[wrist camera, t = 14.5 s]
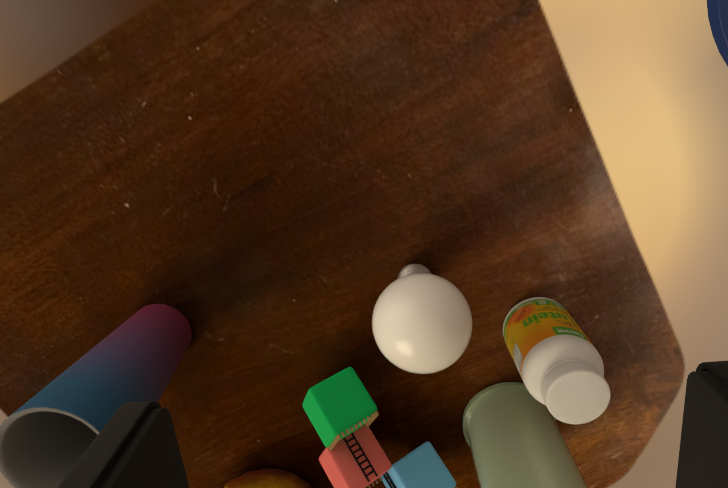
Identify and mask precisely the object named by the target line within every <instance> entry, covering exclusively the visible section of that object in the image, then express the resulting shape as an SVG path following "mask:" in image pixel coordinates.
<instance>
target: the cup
mask: <svg viewBox="0 0 728 488" xmlns="http://www.w3.org/2000/svg"><path fill="white" fill-rule="evenodd" d="M191 339H192V331H191V327H190V324H189V322H188V320H187V319H186V317H185V316H184V315H183V314H182V313H181V312H179V311H178V310H177V309H175V308H173V307H171V306H168V305H164V304H151V305H147V306H145V307H143V308H141V309H140V310H139V311H138V312H136V313H135V314H134V315H133V316H131V317H130V318H129V319H128V320H127V321H125V322H124V323H123V324H122V325H120V326H119V327H118V328H117V329H116V330H114V331H113V332H112V333H111V334H109V335H108V336H107V337H106V338H105V339H103V340H102V341H101V342H100V343H98V344H97V345H96V346H95V347H94V348H92V349H91V350H90V351H89V352H87V353H86V354H85V355H84V356H83V357H81V358H80V359H79V360H78V361H76V362H75V363H74V364H73V365H72V366H70V367H69V368H68V369H67V370H65V371H64V372H63V373H62V374H61V375H59V376H58V377H57V378H56V379H54V380H53V381H52V382H51V383H50V384H48V385H47V386H46V387H45V388H43V389H42V390H41V391H40V392H39V393H37V394H36V395H35V396H34V397H32V398H31V399H30V400H29V401H28V402H26V403H25V404H24V405H23V406H21V407H20V408H19V409H18V410H17V411H15V412H14V413H13V414H12V415H11V416H9V417H8V418H7V419H6V420H4V421H3V423H2V424H1V425H0V471H1V473H2V475H3V476H4V477H5V478H6V480H7V481H8V482H9V483H10V484H11V485H12V486H13V487H14V488H57V487H58V486H59V485H60V483H61V482H62V481H63V479H64V478H65V477H66V476H67V474H68V473H69V472H70V470H71V469H72V468H73V467H74V465H75V464H76V463H77V461H78V460H79V459H80V457H81V456H82V455H83V454H84V452H85V451H86V450H87V448H88V447H89V446H90V444H91V443H92V442H93V441H94V439H95V438H96V437H97V435H98V434H99V433H100V432H101V430H102V429H103V428H104V426H105V425H106V424H107V422H108V421H109V420H110V419H111V417H112V416H113V415H114V413H115V412H116V411H117V410H118V408H119V407H120V406H121V405H122V404H124V403H129V402H143V401H156V402H158V401H159V399H160V398H161V396H162V394H163V392H164V390H165V388H166V387H167V385H168V383H169V381H170V379H171V378H172V376H173V374H174V372H175V370H176V369H177V367H178V365H179V363H180V361H181V359H182V358H183V356H184V354H185V352H186V350H187V349H188V347H189V345H190V343H191Z"/></svg>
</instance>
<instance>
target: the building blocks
mask: <svg viewBox="0 0 728 488" xmlns="http://www.w3.org/2000/svg"><path fill="white" fill-rule="evenodd" d="M302 406H303V408H304V410H305V412H306V414H307V415H308V417H309V419H310V421H311V422H312V424H313V426H314V428H315V430H316V431H317V433H318V435H319V437H320V438H321V440H322V442H323V444H324V445H325V447H326V448H325V450H324V451H323V453H322V454H321V455H320V457H319V461H320V463H321V465H322V467H323V469H324V471H325V472H326V474H327V476H328V478H329V480H330V482H331V483H332V485H333V487H334V488H366V487H367V486H368V488H371V487H370V485H369V484H372V486H375V484H374V483H373V482H374V481H375V482H376V484H377V483H379V482H378V481H377V479H378V478H379V480H380V481H383V483H384V484H385V486H386V488H457V487H456V482H455V480H454V478H453V477H452V475H451V474H450V472H449V471H448V469H447V468H446V466H445V464H444V463H443V461H442V460H441V458H440V457H439V455H438V454H437V452H436V450H435V449H434V447H433V446H432V444H431V443H430V442H425V443H423V444H422V445H420V446H419V447H417V448H416V449H414V450H413V451H412V452H410V453H409V454H407V455H406V456H404V457H403V458H401V459H400V460H398V461H397V462H396V463H394V464H393V465H391V463H390V461H389V459H388V458H387V456H386V454H385V453H384V451H383V449H382V448H381V446H380V444H379V443H378V441H377V439H376V438H375V436H374V434H373V433H372V431H371V430H370V428H369V425H371V423H372V422H373V421H374V420H375V418H377V416H378V415H379V414H378V412H377V406H376V404H375V403H374V401H373V400H372V398H371V396H370V395H369V393H368V392H367V390H366V388H365V387H364V385H363V384H362V382H361V380H360V379H359V377H358V376H357V374H356V372H355V371H354V369H353V368H352V367H348V368H346V369H344V370H342V371H340V372H338V373H336V374H335V375H333V376H331V377H329V378H327V379H325V380H324V381H322V382H320V383H318V384H316V385H315V386H313V387H311V388H310V389H309V390H308V392H307V395H306V397H305V399H304V401H303V404H302Z"/></svg>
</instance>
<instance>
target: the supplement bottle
mask: <svg viewBox="0 0 728 488" xmlns="http://www.w3.org/2000/svg"><path fill="white" fill-rule="evenodd" d="M503 336H504V339H505V342H506V345H507V347H508V349H509V351H510V353H511V356H512V358H513V360H514V362H515V364H516V367H517V369H518V371H519V373H520V375H521V378H522V380H523V382H524V384H525V386H526V388H527V390H528V391H529V393H530V394H531V395H532V396H533V397H534V398H535V399H536V400H537V401H539V402H540V403H542V404H544V405H546V406H547V408H548V410H549V412H550V413H551V414H552V415H553V416H554V417H555V418H556V419H558V420H559V421H561V422H564V423H568V424H583V423H587V422H590V421H592V420H594V419H596V418H597V417H599V416H600V415H601V414H602V413H603V412H604V411H605V409H606V408H607V406H608V404H609V401H610V388H609V385H608V383H607V382H606V380H605V379H604V365H603V361H602V358H601V356H600V354H599V353H598V351H597V350H596V348H595V347H594V346H593V344H592V343H591V342H590V340H589V339H588V338H587V336H586V335H585V334H584V333H583V331H582V330H581V329H580V327H579V326H578V325H577V323H576V322H575V321H574V319H573V318H572V317H571V315H570V314H569V313H568V311H567V310H566V309H565V308H564V307H563V306H562V305H561V304H560V303H558V302H556V301H554V300H552V299H549V298H544V297H534V298H529V299H526V300H524V301H521V302H520V303H518V304H517V305H515V306H514V307H513V308H512V309H511V310H510V311H509V313H508V314H507V316H506V318H505V320H504V324H503Z"/></svg>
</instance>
